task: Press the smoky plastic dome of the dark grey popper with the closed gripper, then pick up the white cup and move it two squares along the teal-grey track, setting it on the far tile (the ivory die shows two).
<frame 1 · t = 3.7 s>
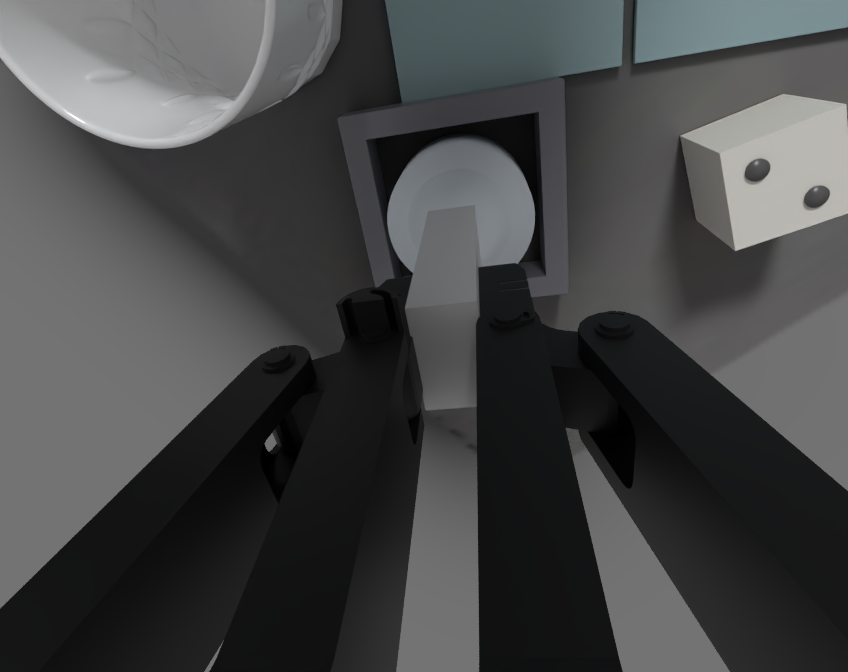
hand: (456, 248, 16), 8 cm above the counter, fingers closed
dome: (460, 218, 21), point 3 cm above the counter, slide at -0.9 cm
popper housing: (461, 199, 24), on the counter
die: (736, 161, 22), on the counter
white cup: (263, 2, 20), on the counter
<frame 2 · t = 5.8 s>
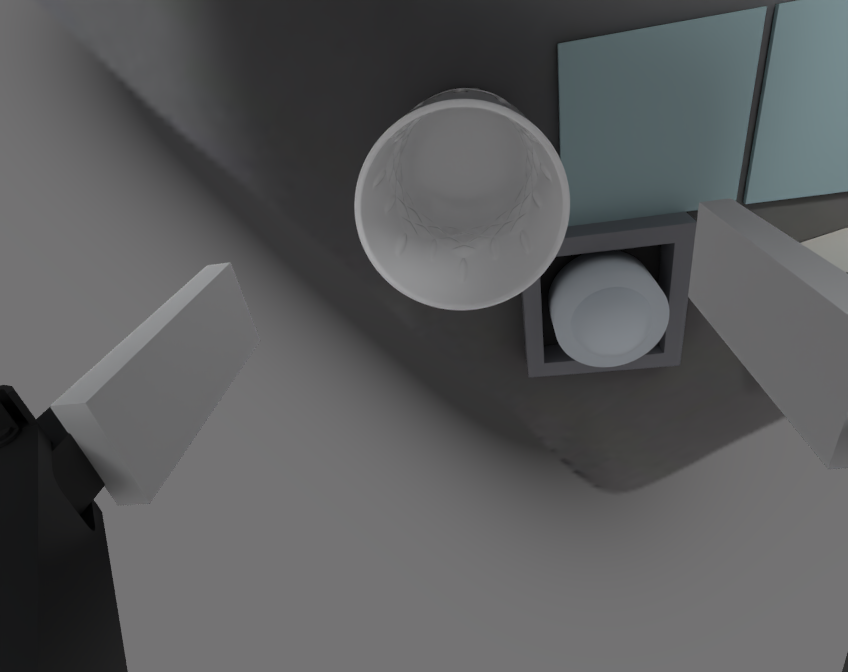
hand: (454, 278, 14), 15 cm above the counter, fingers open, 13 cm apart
dome: (608, 316, 28), point 3 cm above the counter, slide at -0.9 cm
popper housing: (596, 292, 30), on the counter
die: (815, 269, 29), on the counter
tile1: (650, 128, 25), on the counter
white cup: (464, 155, 27), on the counter
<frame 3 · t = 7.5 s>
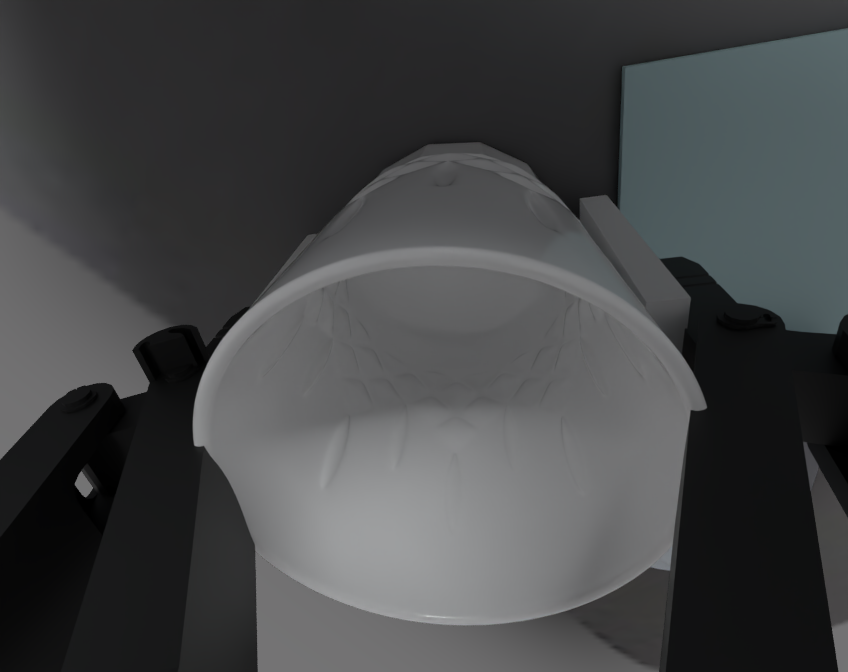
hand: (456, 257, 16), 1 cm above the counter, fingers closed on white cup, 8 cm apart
dome: (689, 500, 17), point 3 cm above the counter, slide at -0.9 cm
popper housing: (661, 440, 20), on the counter
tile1: (774, 209, 15), on the counter
white cup: (456, 246, 17), on the counter, touching gripper
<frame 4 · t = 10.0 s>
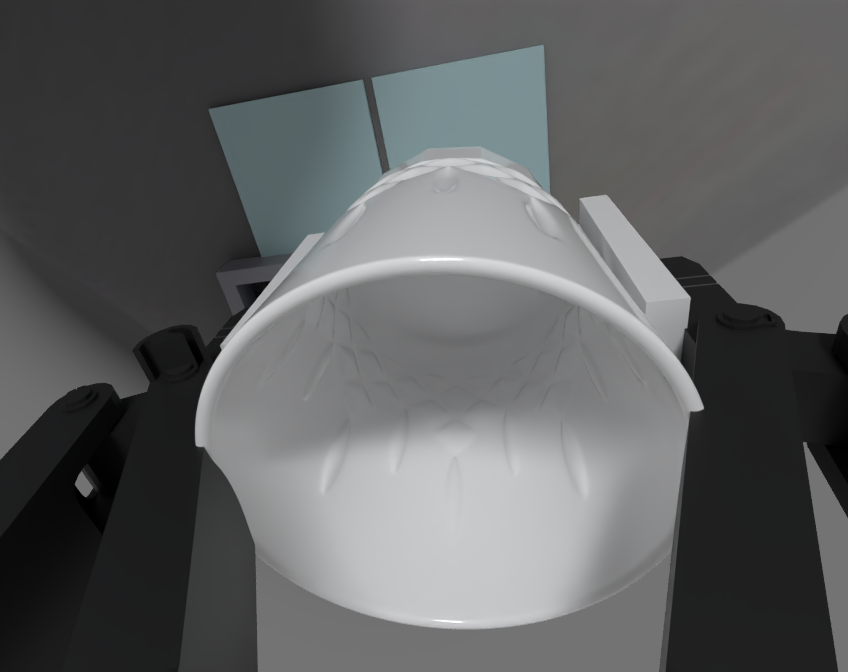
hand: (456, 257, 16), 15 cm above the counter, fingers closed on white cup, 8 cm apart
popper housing: (311, 311, 35), on the counter
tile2: (466, 150, 29), on the counter
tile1: (308, 176, 30), on the counter
white cup: (456, 250, 17), point 14 cm above the counter, touching gripper
when the fingers open (2 cm above the counter, at t = 12.8 s): white cup drops 1 cm, resting on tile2.
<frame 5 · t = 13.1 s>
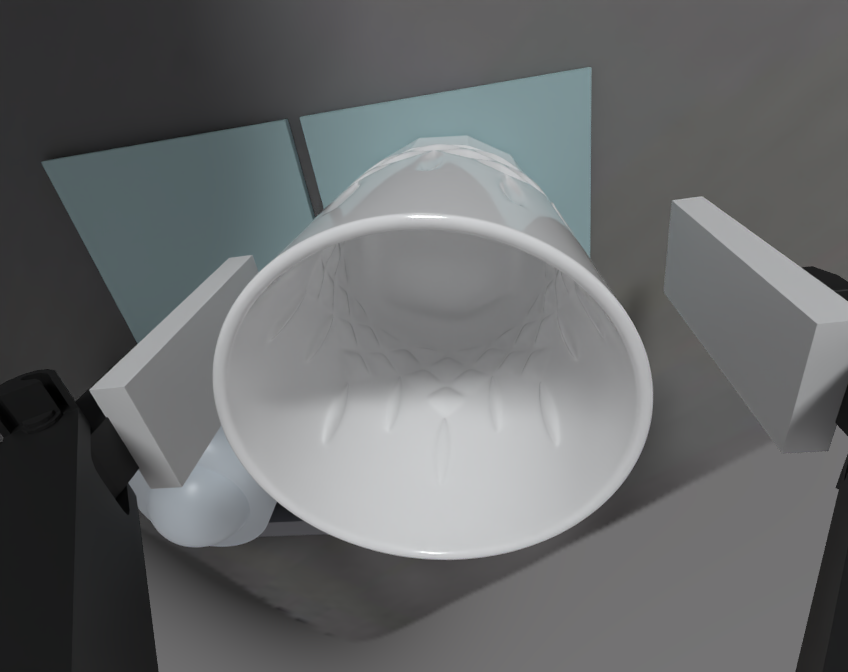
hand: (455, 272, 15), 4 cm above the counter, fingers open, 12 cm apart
dome: (206, 489, 22), point 3 cm above the counter, slide at -0.9 cm
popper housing: (234, 441, 24), on the counter
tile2: (457, 230, 18), on the counter
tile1: (212, 262, 19), on the counter
white cup: (447, 233, 18), resting on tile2
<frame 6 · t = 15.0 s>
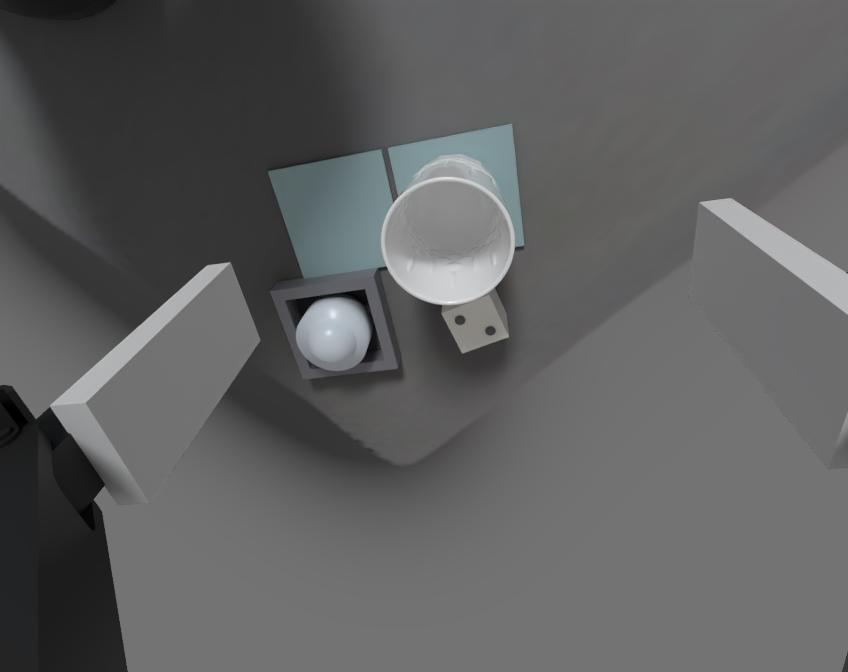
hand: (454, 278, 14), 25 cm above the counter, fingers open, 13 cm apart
dome: (333, 337, 42), point 3 cm above the counter, slide at -0.9 cm
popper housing: (341, 320, 45), on the counter
die: (475, 302, 43), on the counter
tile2: (458, 197, 38), on the counter
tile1: (340, 217, 40), on the counter
white cup: (453, 198, 38), resting on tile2
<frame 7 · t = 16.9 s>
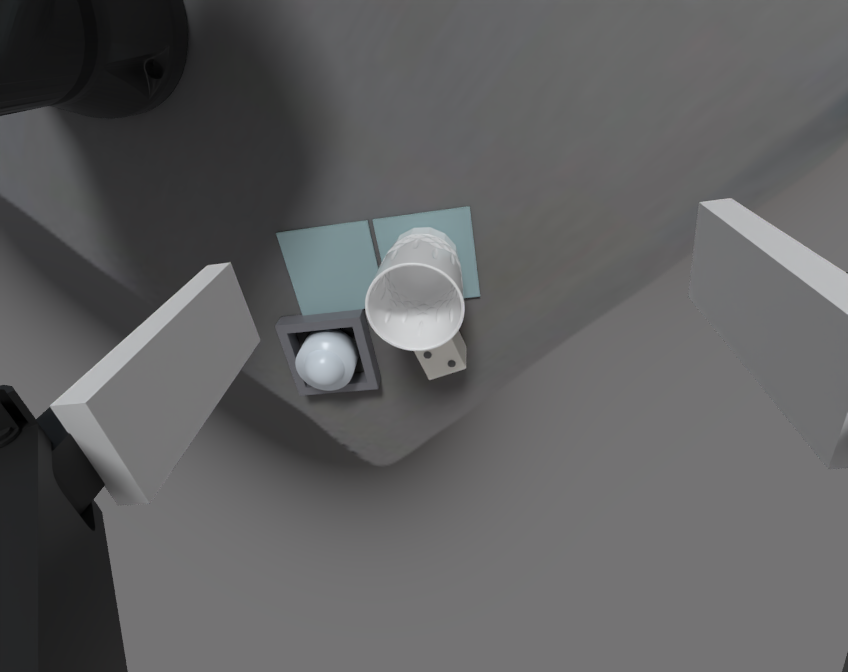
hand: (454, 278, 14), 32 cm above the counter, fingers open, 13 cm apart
dome: (325, 363, 52), point 3 cm above the counter, slide at -0.9 cm
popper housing: (332, 348, 55), on the counter
die: (441, 337, 53), on the counter
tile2: (428, 258, 48), on the counter
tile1: (333, 269, 50), on the counter
white cup: (424, 259, 48), resting on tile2
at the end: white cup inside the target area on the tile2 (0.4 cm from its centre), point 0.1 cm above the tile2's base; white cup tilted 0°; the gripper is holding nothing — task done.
